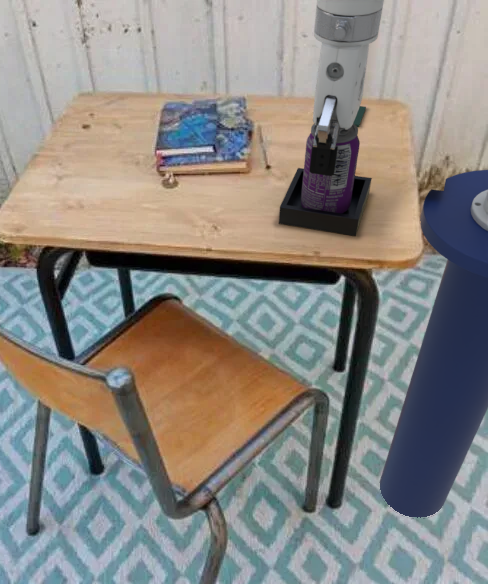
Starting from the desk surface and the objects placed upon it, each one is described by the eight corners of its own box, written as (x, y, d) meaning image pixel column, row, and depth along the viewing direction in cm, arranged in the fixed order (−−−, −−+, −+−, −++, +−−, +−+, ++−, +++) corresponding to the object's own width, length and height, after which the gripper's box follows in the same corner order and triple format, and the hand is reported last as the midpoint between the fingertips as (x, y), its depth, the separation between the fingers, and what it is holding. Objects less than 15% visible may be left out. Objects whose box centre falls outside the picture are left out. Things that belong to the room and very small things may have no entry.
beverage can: (356, 200, 95) (369, 123, 86) (338, 226, 91) (350, 147, 82) (311, 189, 98) (319, 112, 89) (292, 213, 94) (298, 135, 85)
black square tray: (368, 194, 97) (371, 177, 95) (355, 236, 90) (358, 219, 88) (296, 184, 100) (298, 167, 98) (278, 223, 93) (279, 207, 91)
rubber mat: (365, 108, 115) (366, 106, 115) (358, 127, 111) (359, 124, 111) (326, 104, 117) (326, 102, 117) (318, 122, 113) (318, 120, 113)
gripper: (367, 53, 70) (344, 193, 82) (390, 0, 81) (367, 130, 93) (298, 46, 72) (286, 184, 84) (330, -5, 83) (315, 123, 95)
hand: (329, 155), depth 89 cm, fingers open, 9 cm apart
